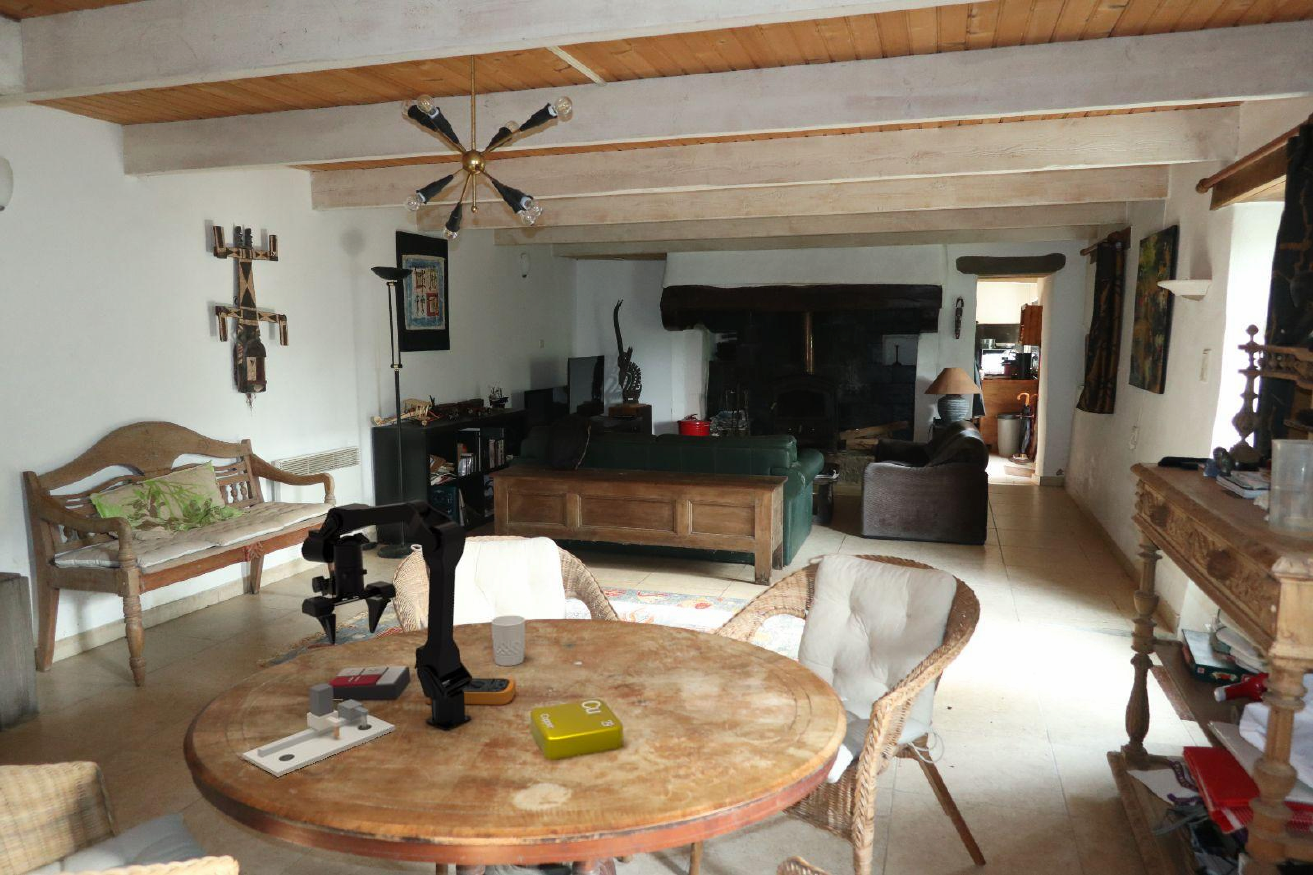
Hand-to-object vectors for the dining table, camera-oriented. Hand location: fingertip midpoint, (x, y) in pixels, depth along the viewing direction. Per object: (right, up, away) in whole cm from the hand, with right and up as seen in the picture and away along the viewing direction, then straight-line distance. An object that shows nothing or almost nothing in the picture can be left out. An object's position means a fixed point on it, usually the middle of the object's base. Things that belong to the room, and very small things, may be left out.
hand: (352, 638), depth 186 cm
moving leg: (+1, -14, -17) cm, 22 cm away
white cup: (+29, -11, +25) cm, 40 cm away
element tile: (+48, -16, -17) cm, 53 cm away
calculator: (+1, -14, +8) cm, 16 cm away
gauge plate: (+1, -16, -19) cm, 25 cm away
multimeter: (+24, -14, +3) cm, 28 cm away
